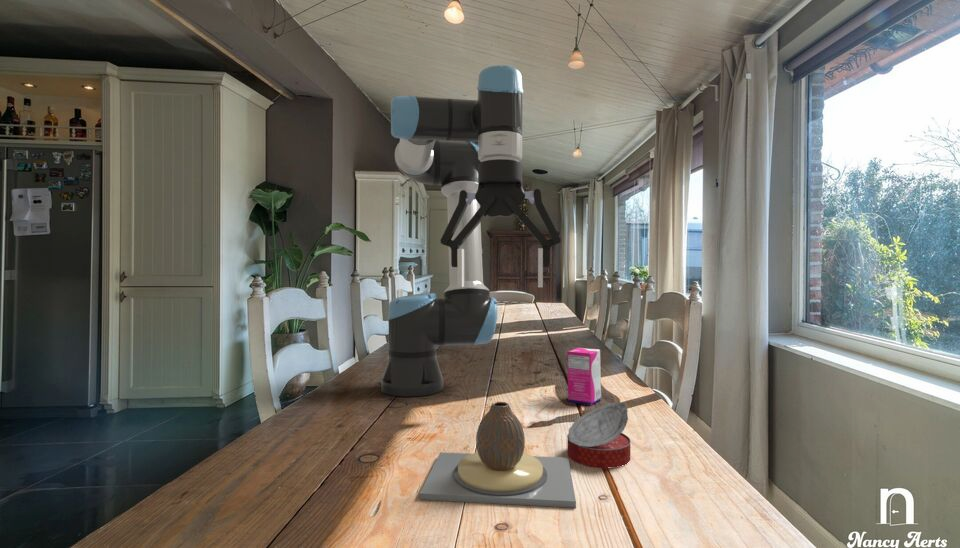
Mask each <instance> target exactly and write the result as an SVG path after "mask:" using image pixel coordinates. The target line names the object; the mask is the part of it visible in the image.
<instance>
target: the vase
mask: <svg viewBox="0 0 960 548" xmlns="http://www.w3.org/2000/svg"><path fill="white" fill-rule="evenodd" d="M522 425H523V424H522V423H521V421H520V420H519V418H518V417H517V415H516V414H515V413H514V412H513V410H512V409H511V406H510V404H509V403H508V402H507V401H506V402H504V401H495V402H493V403H491V406H490V408H489V410H488V412H487V413H486V414H485V415H484V417H483V418H482V419H481V421H480V423H479V425H478V428H477V430H476V436H475V445H476V446H475V447H476V452H478V455H479V457H480V459H481V461H482V462H483V463H484V464H485V465H486V466H487V467H488V468H489V469H492V470H496V471H506V470H510V469H512V468H513V467H515V466H516V465H517V464H518V462H519V461H520V460H521V458H522V455H523V453H525V447H526V446H525V443H526V437H525V432H524V428H523V426H522Z"/></svg>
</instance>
